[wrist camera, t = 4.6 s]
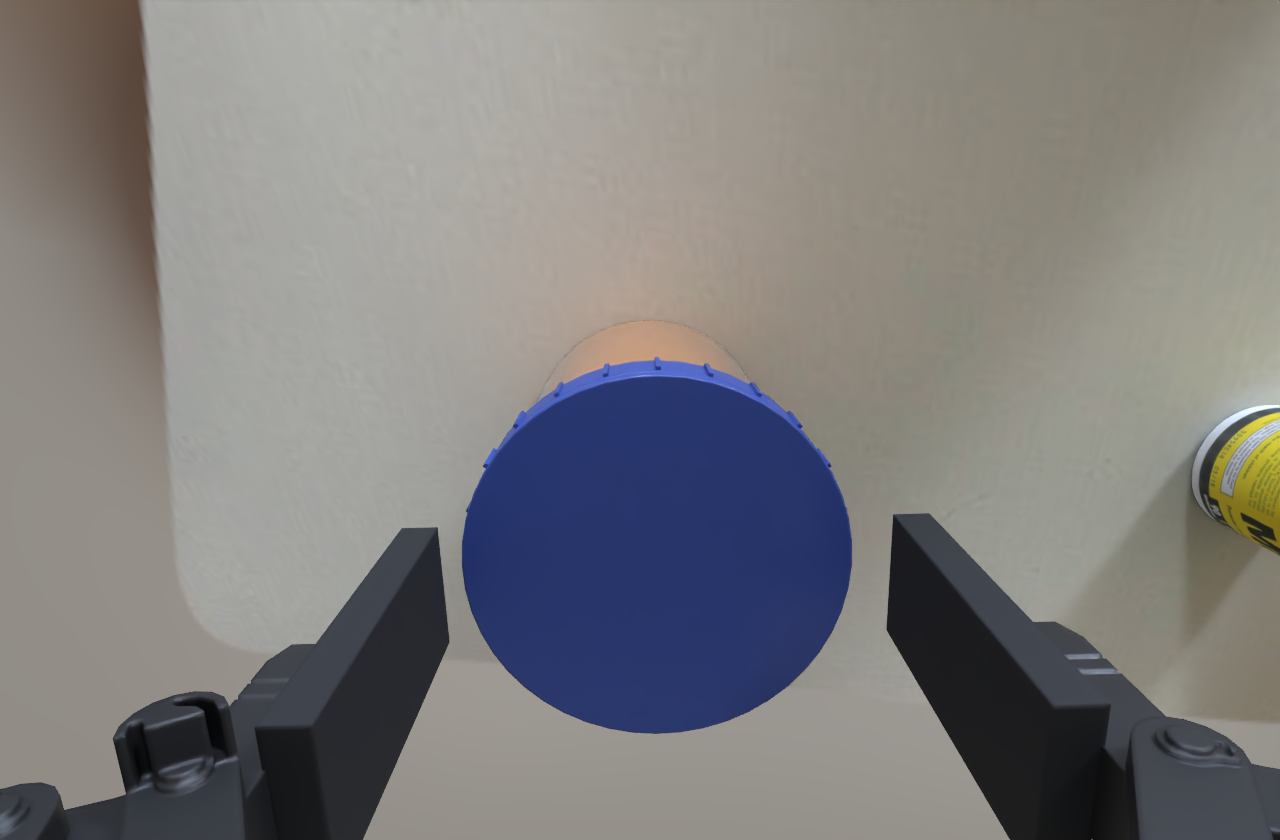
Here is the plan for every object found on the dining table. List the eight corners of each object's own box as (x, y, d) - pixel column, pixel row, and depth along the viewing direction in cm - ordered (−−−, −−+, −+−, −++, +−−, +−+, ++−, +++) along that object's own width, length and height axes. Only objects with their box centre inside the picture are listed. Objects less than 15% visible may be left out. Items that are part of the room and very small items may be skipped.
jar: (542, 538, 29) (494, 713, 19) (528, 322, 27) (467, 390, 17) (758, 532, 29) (825, 703, 19) (761, 316, 27) (838, 380, 17)
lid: (508, 711, 20) (496, 756, 19) (442, 383, 18) (423, 400, 16) (846, 671, 20) (865, 713, 18) (823, 334, 18) (842, 346, 16)
